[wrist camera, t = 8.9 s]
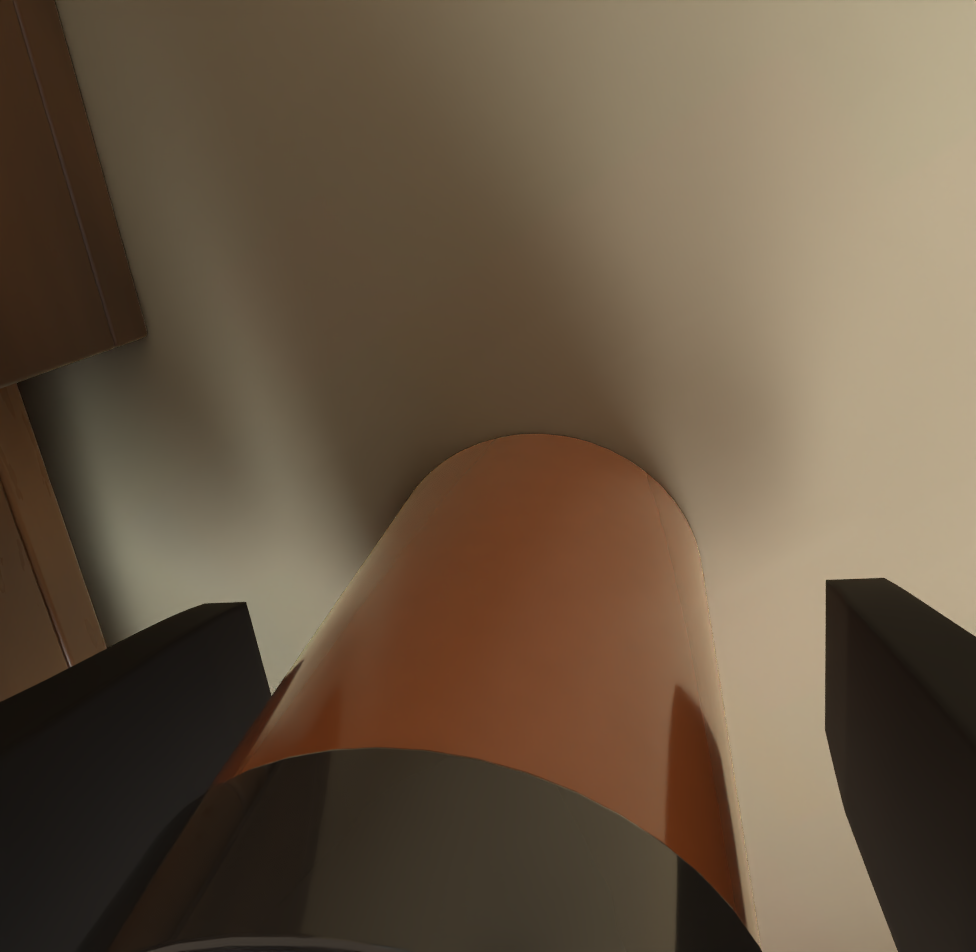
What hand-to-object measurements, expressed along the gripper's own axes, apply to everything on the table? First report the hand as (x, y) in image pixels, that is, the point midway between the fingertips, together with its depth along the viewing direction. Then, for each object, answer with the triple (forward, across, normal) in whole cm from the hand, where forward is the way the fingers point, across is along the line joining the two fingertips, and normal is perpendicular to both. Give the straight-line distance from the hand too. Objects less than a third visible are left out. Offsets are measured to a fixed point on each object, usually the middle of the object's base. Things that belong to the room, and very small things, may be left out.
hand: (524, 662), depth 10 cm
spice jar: (+2, 0, 0) cm, 2 cm away
